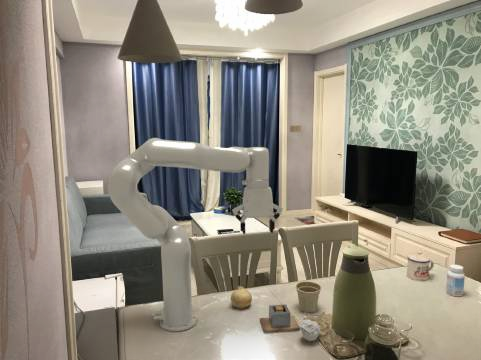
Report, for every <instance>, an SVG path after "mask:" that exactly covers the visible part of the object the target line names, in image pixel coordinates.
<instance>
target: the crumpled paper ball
mask: <svg viewBox="0 0 481 360" xmlns="http://www.w3.org/2000/svg"><path fill="white" fill-rule="evenodd" d="M299 327H300V332H301V334H302V336H303V337H302V338H304V339H305V340H306V341H308V342H314V341H316V340H317V339H318V336H319V335H320V332H321V328H320V325H319V323H317V322H316V321H313V320H311V319H310V318H308V319H303V320H302V322H301V324H299Z"/></svg>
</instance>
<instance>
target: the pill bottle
mask: <svg viewBox="0 0 481 360" xmlns="http://www.w3.org/2000/svg"><path fill="white" fill-rule="evenodd" d="M465 276H466V275H465V273H464V266H462V265H459V264H450V265H449V270H448V272H447V273H446V288H445V291H446V293H447V294H448V295H449V296H453V297H462V296H463V295H464V290H465Z"/></svg>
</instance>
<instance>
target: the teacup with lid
mask: <svg viewBox="0 0 481 360" xmlns="http://www.w3.org/2000/svg"><path fill="white" fill-rule="evenodd" d="M434 266H435V264H434V261H433V260H432V259H431V258H430V257H429V256H428V255H425V254H424V253H422V251H420V250H417V251H416V252H414V253H410V254H408V255H407V266H406V277H407V278H409V279H411V280H414V281H419V282H422V281H427V280H429V274H430V271H432V270H433V268H434Z"/></svg>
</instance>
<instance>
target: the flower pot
mask: <svg viewBox="0 0 481 360" xmlns="http://www.w3.org/2000/svg"><path fill="white" fill-rule="evenodd" d="M295 289H296V292H297V298H298V306H299V310H301V311H302V312H304V313H310V312H311V313H314V312H316V311H317V309H318V302H319V297H320V296H319V295H320V293H321V291H322V286H321V284H320V283H317V282H314V281H310V280H309V281H307V280H304V281H300V282H297V283H296V284H295Z"/></svg>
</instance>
